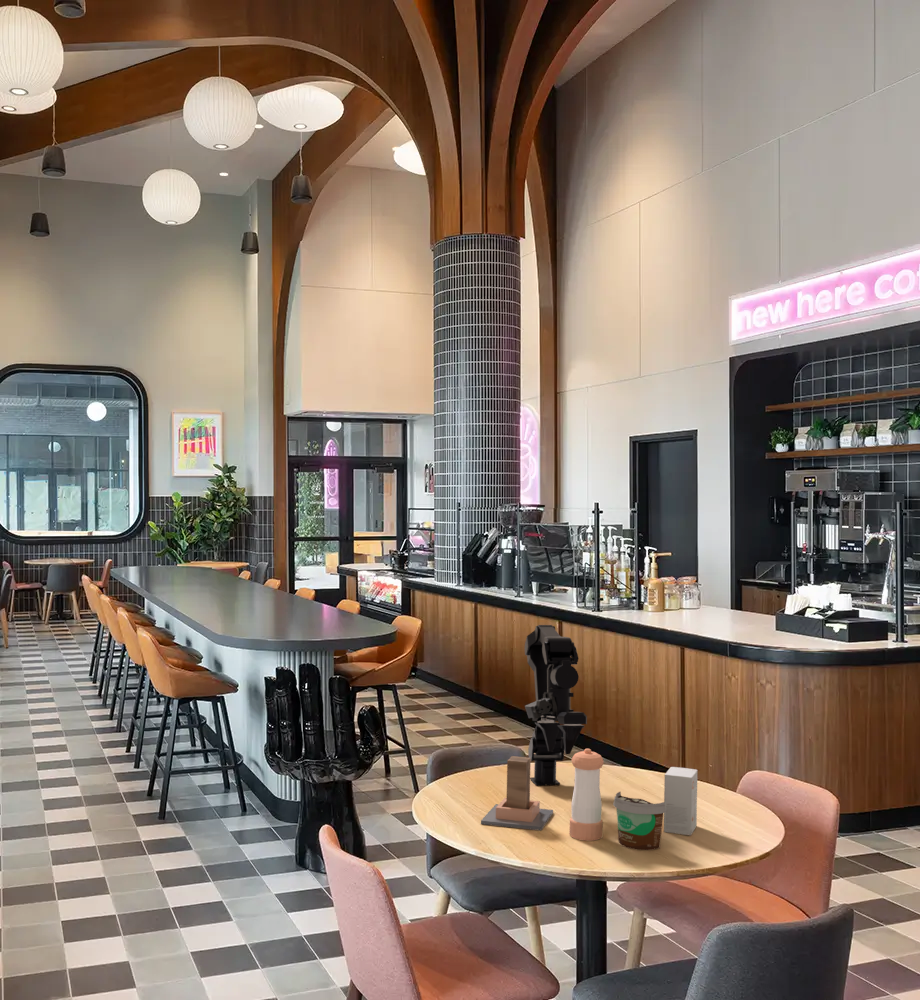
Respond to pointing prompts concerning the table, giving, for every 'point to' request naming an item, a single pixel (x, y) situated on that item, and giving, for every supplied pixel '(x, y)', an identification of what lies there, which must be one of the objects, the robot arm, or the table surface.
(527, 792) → the walnut block
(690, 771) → the small box
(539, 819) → the jaw socket
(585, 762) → the salt shaker
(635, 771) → the table surface
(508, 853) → the table surface
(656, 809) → the food container
